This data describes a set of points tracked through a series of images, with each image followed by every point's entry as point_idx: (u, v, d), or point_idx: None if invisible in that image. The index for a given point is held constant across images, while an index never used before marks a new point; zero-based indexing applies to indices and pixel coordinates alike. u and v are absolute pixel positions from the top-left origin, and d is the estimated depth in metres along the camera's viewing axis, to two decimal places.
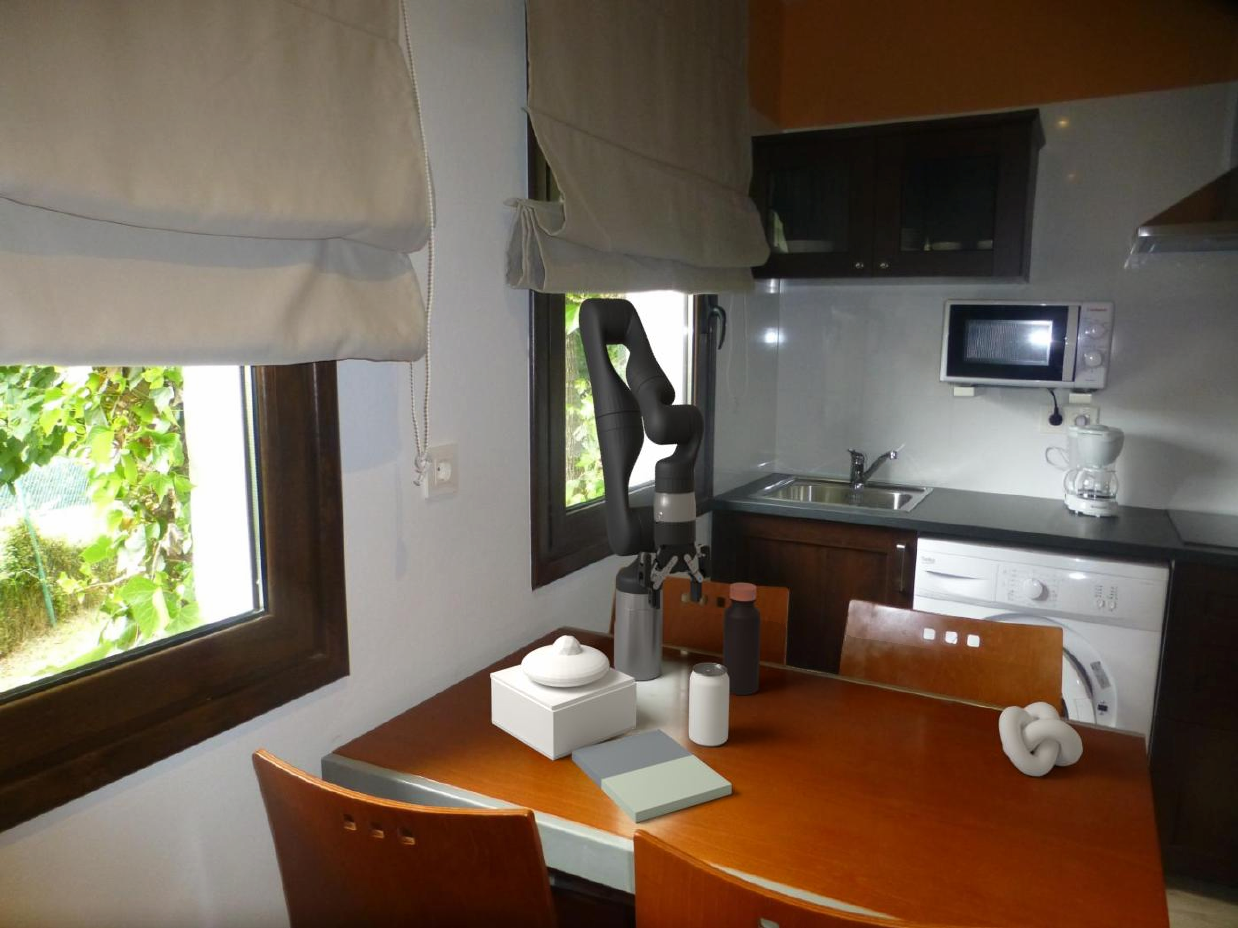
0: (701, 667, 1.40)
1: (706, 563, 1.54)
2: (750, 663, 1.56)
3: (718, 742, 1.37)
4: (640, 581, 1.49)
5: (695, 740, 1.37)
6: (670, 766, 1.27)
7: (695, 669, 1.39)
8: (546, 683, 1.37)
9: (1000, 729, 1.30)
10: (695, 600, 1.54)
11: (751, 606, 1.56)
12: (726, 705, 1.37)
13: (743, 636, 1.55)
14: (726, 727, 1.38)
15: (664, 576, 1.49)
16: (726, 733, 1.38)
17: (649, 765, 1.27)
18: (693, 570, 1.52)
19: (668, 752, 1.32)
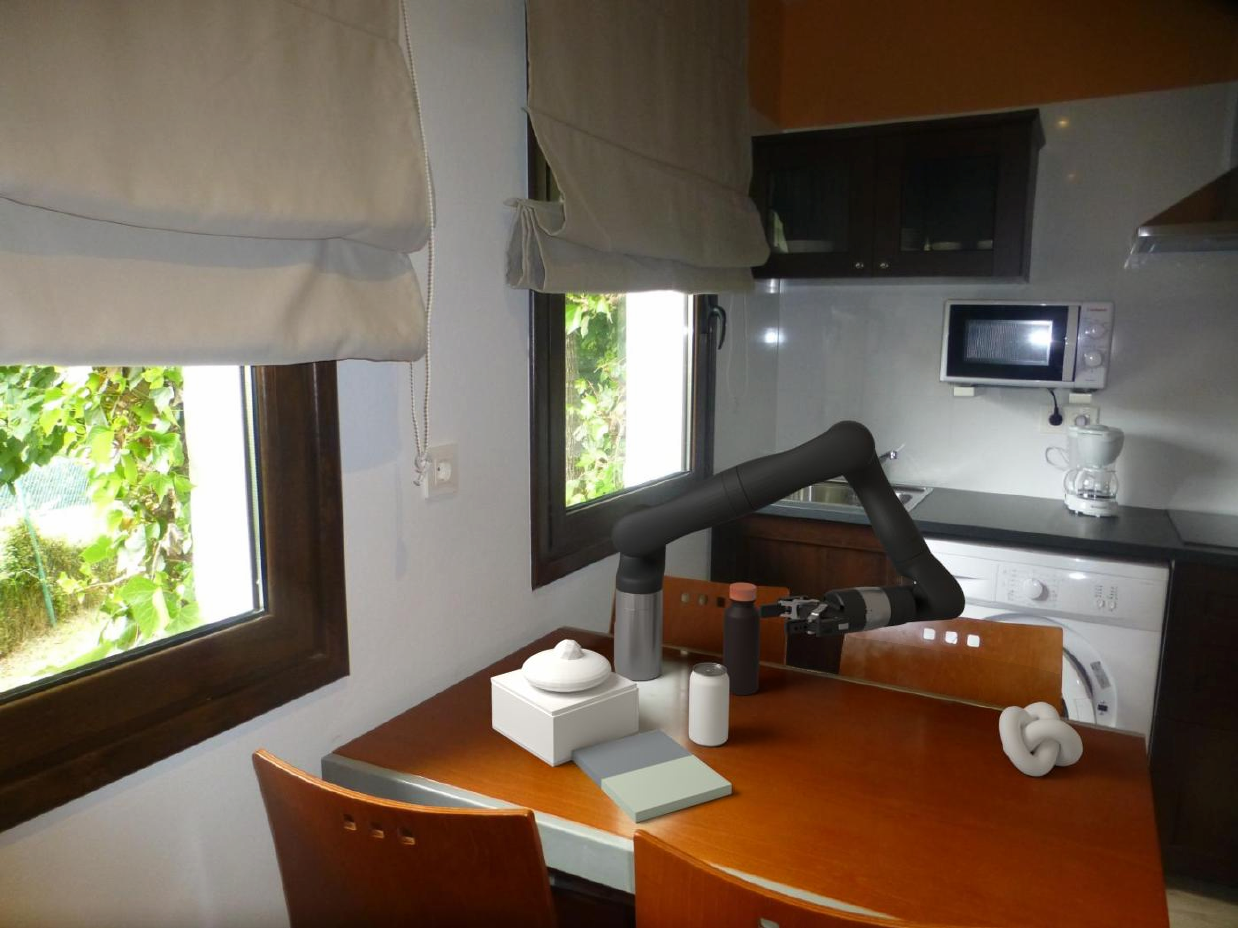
0: (701, 667, 1.40)
1: (791, 611, 1.49)
2: (750, 663, 1.56)
3: (718, 742, 1.37)
4: (822, 627, 1.36)
5: (695, 740, 1.37)
6: (670, 766, 1.27)
7: (695, 669, 1.39)
8: (546, 688, 1.35)
9: (1000, 729, 1.30)
10: (763, 615, 1.44)
11: (751, 606, 1.56)
12: (726, 705, 1.37)
13: (743, 636, 1.55)
14: (726, 727, 1.38)
15: None
16: (726, 733, 1.38)
17: (649, 765, 1.27)
18: None
19: (668, 752, 1.32)
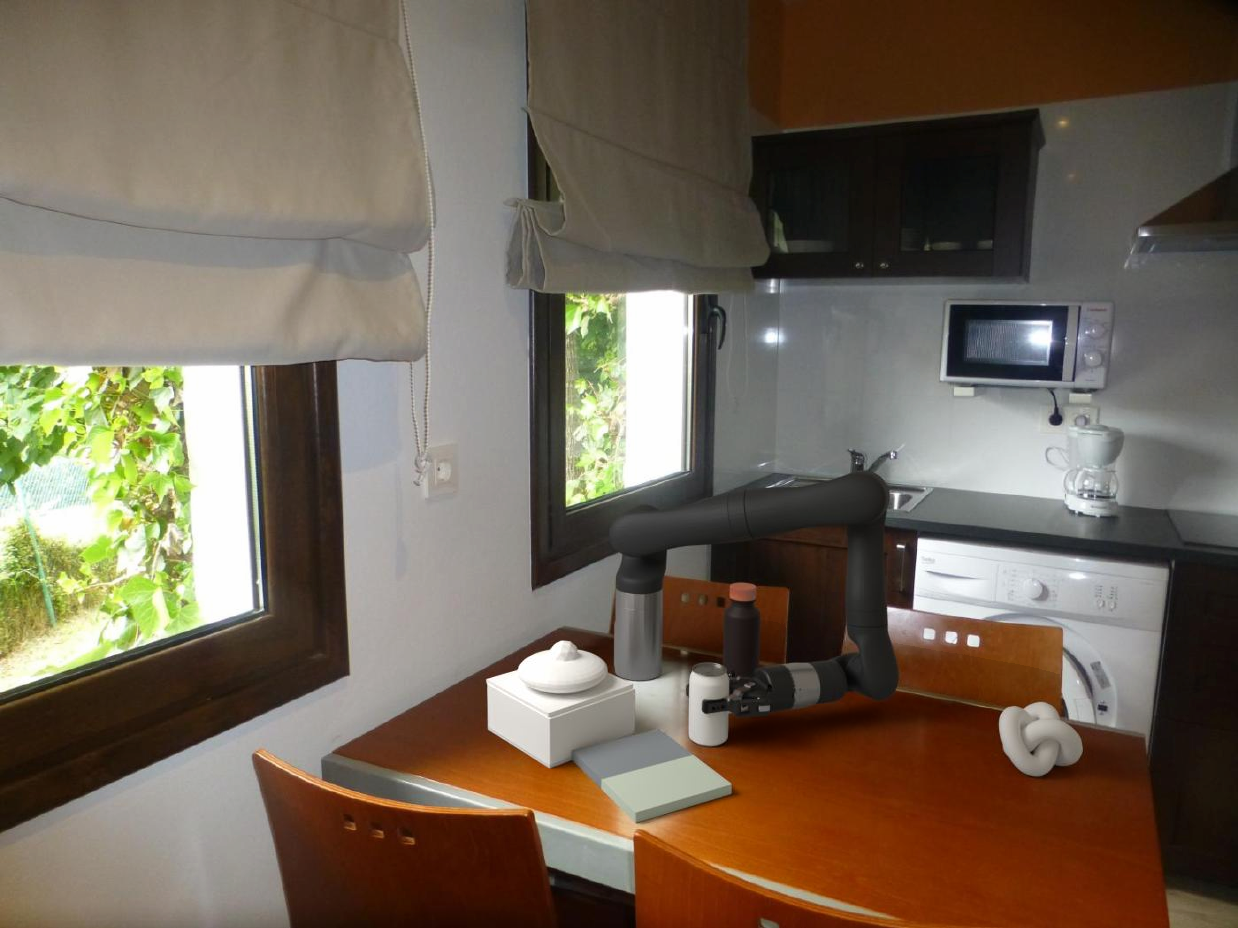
0: (700, 667, 1.39)
1: None
2: (750, 663, 1.56)
3: (718, 742, 1.37)
4: (740, 707, 1.34)
5: (695, 740, 1.37)
6: (670, 766, 1.27)
7: (695, 669, 1.39)
8: (543, 689, 1.34)
9: (1000, 729, 1.30)
10: None
11: (751, 606, 1.56)
12: None
13: (743, 636, 1.55)
14: (726, 727, 1.38)
15: None
16: (726, 733, 1.38)
17: (649, 765, 1.27)
18: None
19: (668, 752, 1.32)
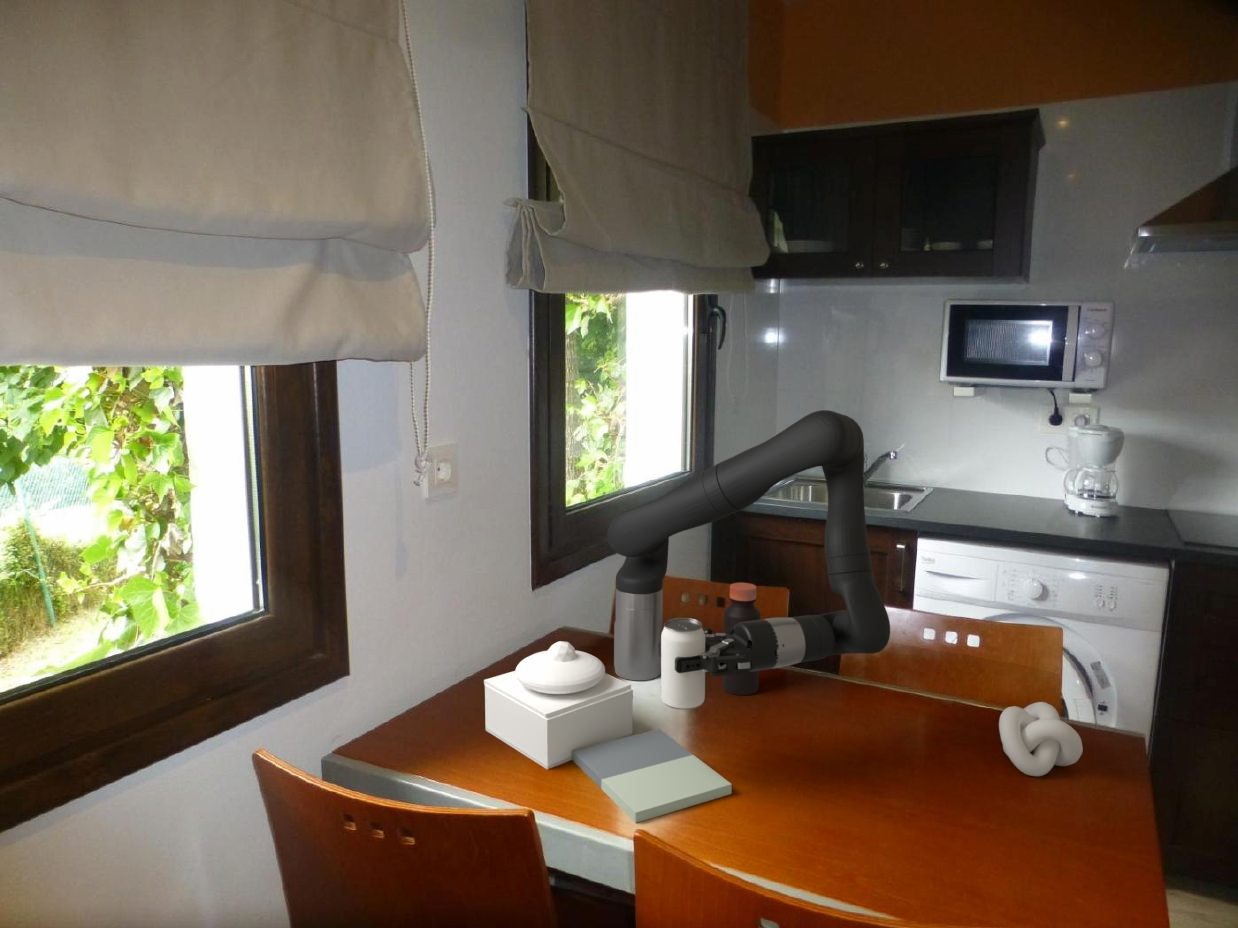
0: (673, 623, 1.26)
1: None
2: None
3: (694, 704, 1.23)
4: (717, 665, 1.21)
5: (668, 703, 1.24)
6: (670, 766, 1.27)
7: (667, 625, 1.25)
8: (540, 690, 1.34)
9: (1000, 729, 1.30)
10: None
11: (751, 606, 1.56)
12: None
13: None
14: (702, 688, 1.24)
15: None
16: (703, 694, 1.25)
17: (649, 765, 1.27)
18: None
19: (668, 752, 1.32)
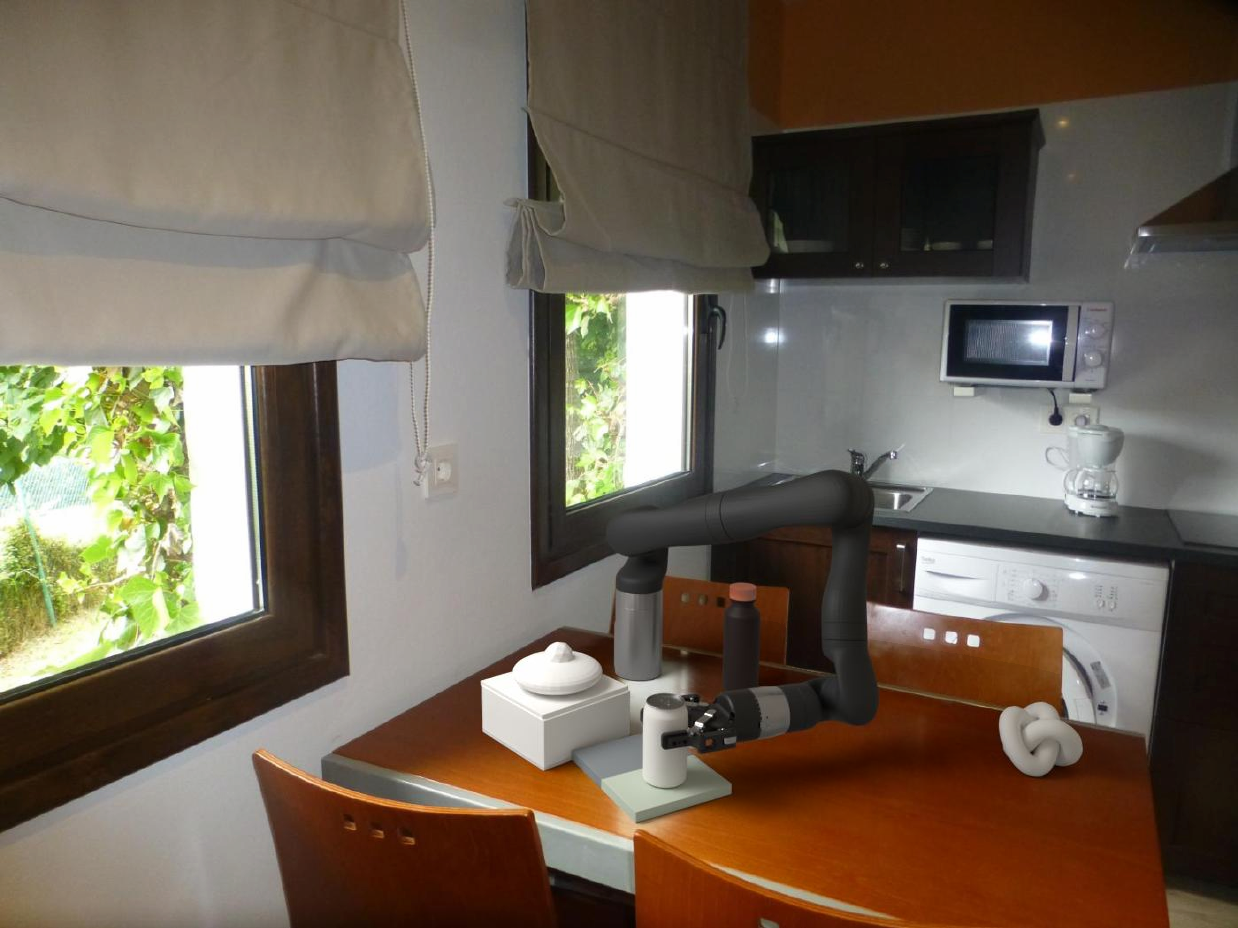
0: (656, 698, 1.23)
1: None
2: (750, 663, 1.56)
3: (675, 784, 1.21)
4: (704, 742, 1.17)
5: (649, 781, 1.21)
6: None
7: (649, 701, 1.23)
8: (537, 691, 1.33)
9: (1000, 729, 1.30)
10: None
11: (751, 606, 1.56)
12: None
13: (743, 636, 1.55)
14: (684, 766, 1.22)
15: None
16: (684, 773, 1.22)
17: None
18: None
19: None
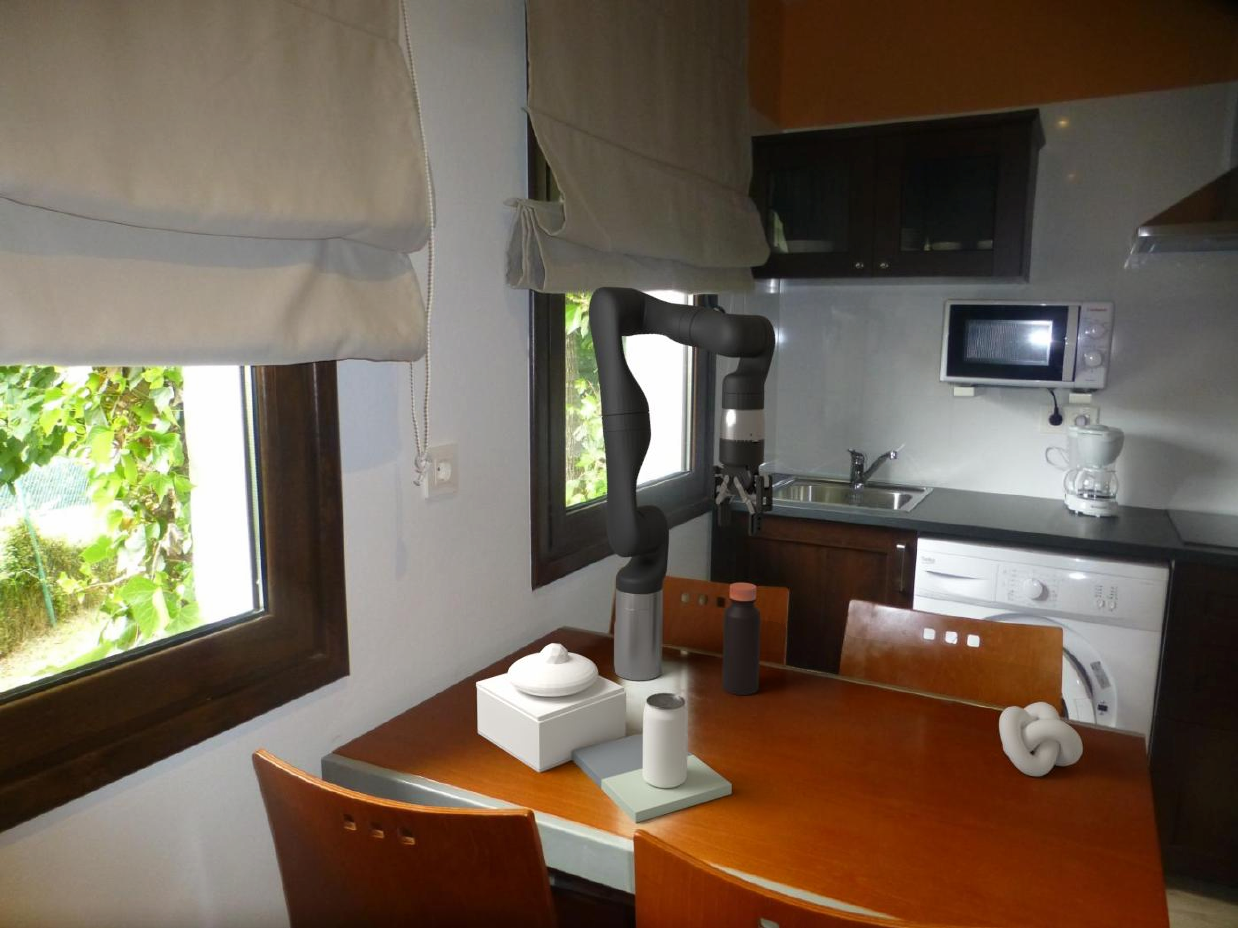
0: (656, 698, 1.23)
1: None
2: (750, 663, 1.56)
3: (675, 784, 1.21)
4: (764, 507, 1.37)
5: (649, 781, 1.21)
6: None
7: (649, 701, 1.23)
8: (532, 693, 1.33)
9: (1000, 729, 1.30)
10: (728, 523, 1.47)
11: (751, 606, 1.56)
12: (684, 742, 1.21)
13: (743, 636, 1.55)
14: (684, 766, 1.22)
15: None
16: (684, 773, 1.22)
17: None
18: None
19: None
